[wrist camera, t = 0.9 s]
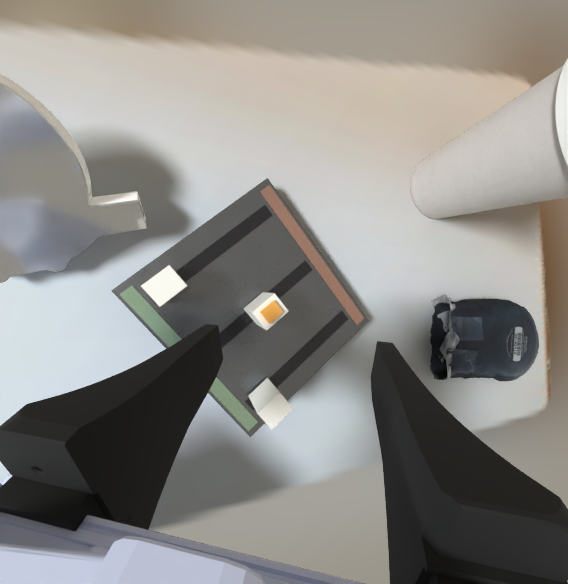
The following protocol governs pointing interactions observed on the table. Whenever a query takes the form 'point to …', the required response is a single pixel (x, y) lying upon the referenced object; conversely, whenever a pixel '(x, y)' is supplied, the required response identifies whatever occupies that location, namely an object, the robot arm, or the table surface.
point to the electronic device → (482, 339)
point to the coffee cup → (501, 157)
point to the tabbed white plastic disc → (49, 191)
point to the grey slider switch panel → (243, 290)
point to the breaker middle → (266, 310)
